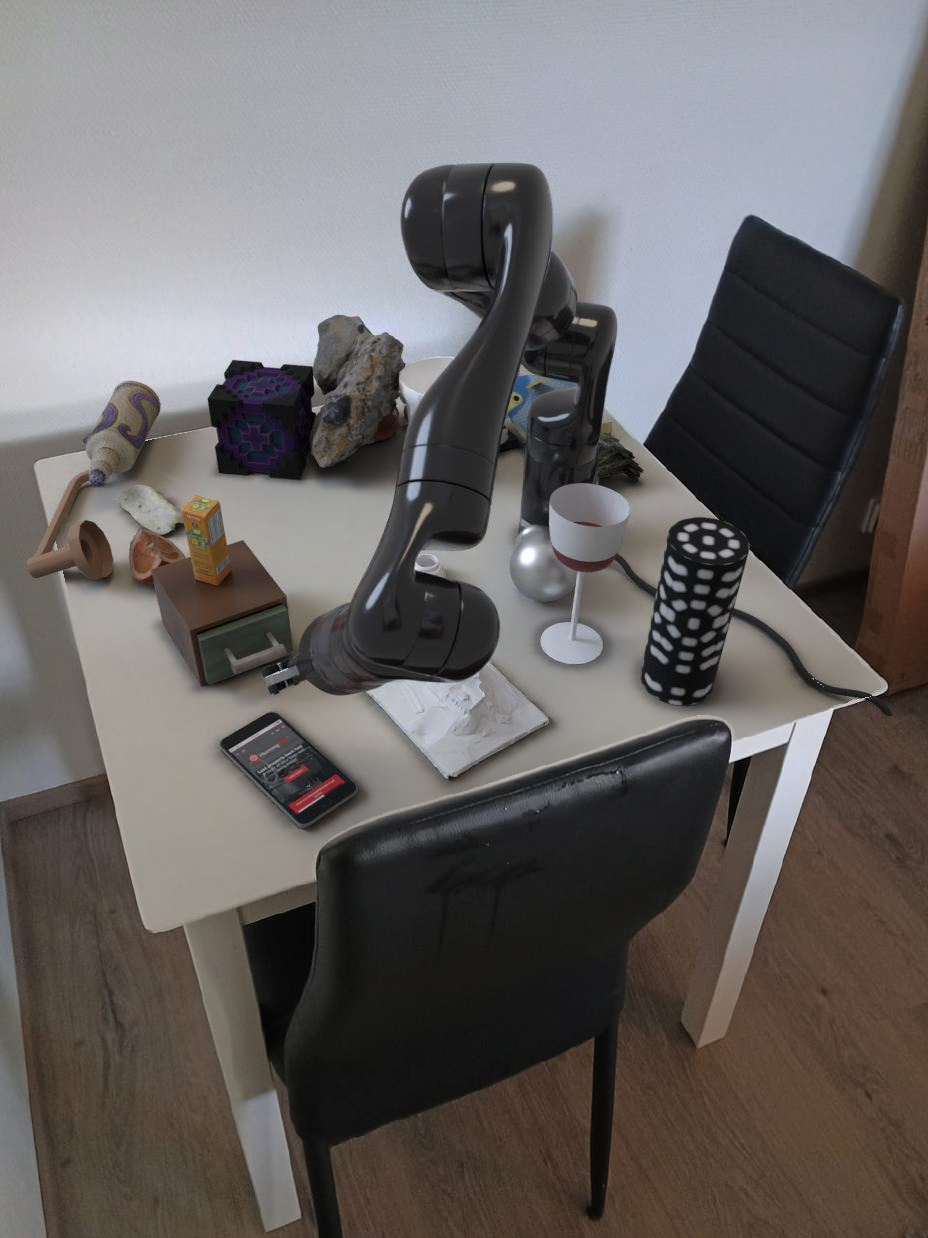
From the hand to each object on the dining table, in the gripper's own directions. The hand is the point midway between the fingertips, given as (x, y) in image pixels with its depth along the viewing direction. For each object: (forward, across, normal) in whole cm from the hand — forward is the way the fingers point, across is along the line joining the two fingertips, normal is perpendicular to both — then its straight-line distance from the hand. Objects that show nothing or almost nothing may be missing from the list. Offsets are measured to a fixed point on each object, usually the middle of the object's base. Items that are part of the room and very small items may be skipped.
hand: (303, 666), depth 101 cm
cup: (+35, -40, -19) cm, 56 cm away
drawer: (+18, +1, -4) cm, 19 cm away
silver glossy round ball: (+9, -37, +4) cm, 38 cm away
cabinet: (+22, +2, -6) cm, 23 cm away
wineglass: (+6, -33, +9) cm, 35 cm away
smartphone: (+6, +4, +10) cm, 12 cm away
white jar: (+20, -25, -4) cm, 32 cm away
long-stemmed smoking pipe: (+42, +9, -26) cm, 50 cm away
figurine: (+31, -51, -22) cm, 64 cm away
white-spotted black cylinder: (-2, -40, +17) cm, 44 cm away
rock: (+35, -36, -29) cm, 58 cm away
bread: (+47, -35, -31) cm, 66 cm away
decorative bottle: (+58, -10, -45) cm, 74 cm away
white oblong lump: (+42, 0, -27) cm, 50 cm away
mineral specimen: (+19, -57, -12) cm, 62 cm away
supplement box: (+17, +2, -13) cm, 21 cm away
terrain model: (+7, -16, +9) cm, 19 cm away
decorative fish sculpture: (+33, -64, -28) cm, 77 cm away
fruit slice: (+33, +4, -17) cm, 37 cm away
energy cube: (+47, -20, -31) cm, 59 cm away
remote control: (+40, -52, -24) cm, 70 cm away
